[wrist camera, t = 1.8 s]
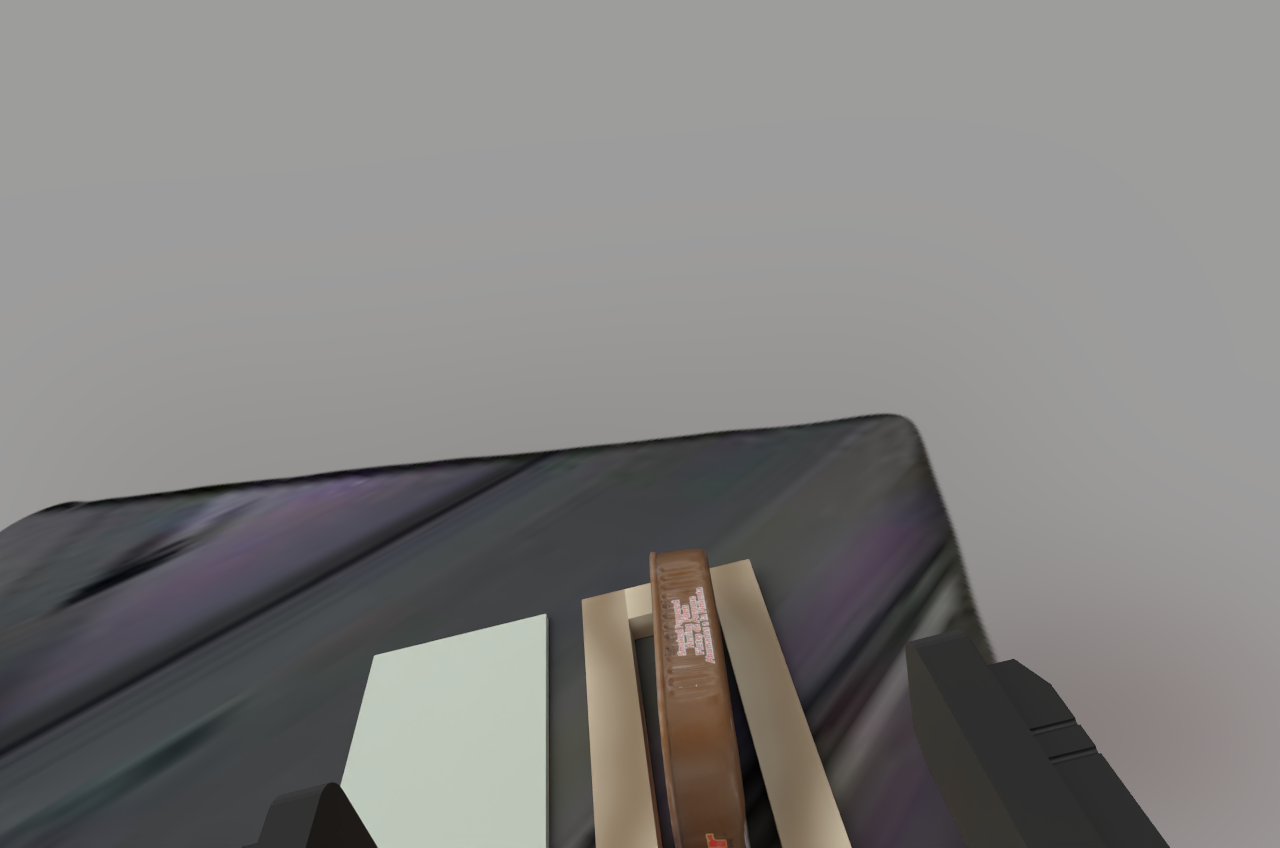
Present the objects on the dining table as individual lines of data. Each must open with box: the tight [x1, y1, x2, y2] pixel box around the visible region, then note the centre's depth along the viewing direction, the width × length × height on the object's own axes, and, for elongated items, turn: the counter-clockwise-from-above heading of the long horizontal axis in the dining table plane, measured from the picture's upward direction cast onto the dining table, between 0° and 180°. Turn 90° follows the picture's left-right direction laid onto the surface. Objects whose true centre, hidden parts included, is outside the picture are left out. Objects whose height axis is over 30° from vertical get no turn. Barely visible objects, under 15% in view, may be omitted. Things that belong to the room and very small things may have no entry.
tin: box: [649, 549, 751, 848], centre depth 34 cm, size 15×3×8 cm, turn 1°
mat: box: [340, 614, 549, 848], centre depth 37 cm, size 10×22×1 cm, turn 6°
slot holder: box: [582, 559, 852, 848], centre depth 36 cm, size 9×21×2 cm, turn 6°
